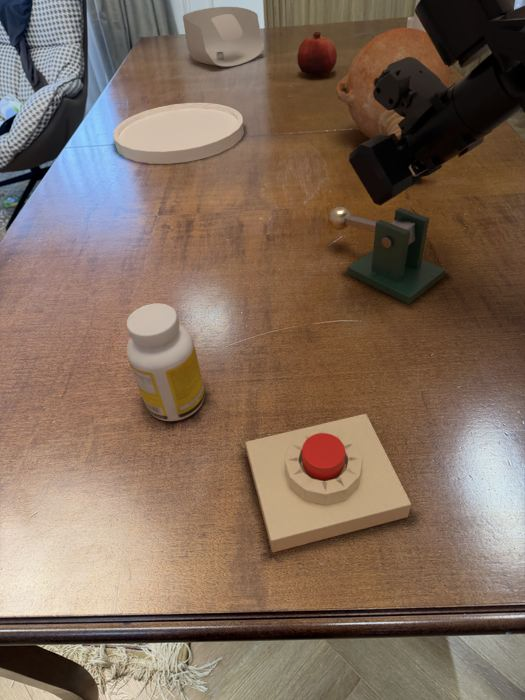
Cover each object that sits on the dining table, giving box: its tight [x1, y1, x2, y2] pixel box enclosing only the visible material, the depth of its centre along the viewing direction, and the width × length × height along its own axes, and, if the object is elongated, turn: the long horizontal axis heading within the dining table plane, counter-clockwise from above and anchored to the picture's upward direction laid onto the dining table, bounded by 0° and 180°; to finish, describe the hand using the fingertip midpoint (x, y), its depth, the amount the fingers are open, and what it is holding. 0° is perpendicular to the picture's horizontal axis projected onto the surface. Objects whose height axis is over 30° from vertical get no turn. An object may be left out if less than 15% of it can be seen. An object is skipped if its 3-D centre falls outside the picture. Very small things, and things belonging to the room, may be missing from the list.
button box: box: [245, 413, 412, 553], centre depth 44 cm, size 10×12×4 cm
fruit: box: [296, 31, 338, 77], centre depth 131 cm, size 11×10×10 cm
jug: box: [335, 27, 453, 140], centre depth 90 cm, size 20×19×30 cm
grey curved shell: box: [182, 6, 265, 67], centre depth 149 cm, size 20×19×12 cm
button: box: [302, 433, 345, 480], centre depth 43 cm, size 4×4×2 cm
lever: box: [328, 205, 415, 245], centre depth 67 cm, size 13×3×3 cm, turn 43°
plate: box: [112, 102, 245, 165], centre depth 109 cm, size 28×28×2 cm
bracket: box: [347, 207, 447, 305], centre depth 65 cm, size 10×8×8 cm
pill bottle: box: [126, 302, 206, 422], centre depth 50 cm, size 6×6×12 cm
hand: (373, 183), depth 63 cm, fingers closed
